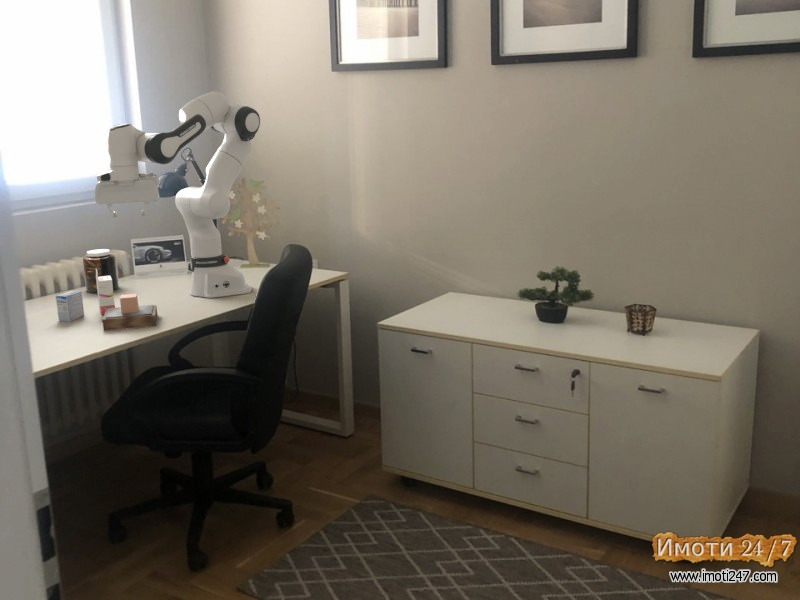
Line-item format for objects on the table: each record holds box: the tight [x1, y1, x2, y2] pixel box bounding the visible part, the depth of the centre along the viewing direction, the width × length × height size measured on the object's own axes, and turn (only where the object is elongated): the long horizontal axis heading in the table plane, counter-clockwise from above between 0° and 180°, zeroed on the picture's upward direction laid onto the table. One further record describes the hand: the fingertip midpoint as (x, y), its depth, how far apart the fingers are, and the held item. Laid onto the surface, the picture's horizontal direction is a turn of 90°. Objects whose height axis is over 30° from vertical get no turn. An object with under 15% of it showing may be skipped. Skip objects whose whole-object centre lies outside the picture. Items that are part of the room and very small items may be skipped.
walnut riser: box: [101, 304, 158, 332], centre depth 275 cm, size 16×14×4 cm
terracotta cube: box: [119, 293, 139, 313], centre depth 274 cm, size 5×5×5 cm
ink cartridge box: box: [96, 269, 116, 315], centre depth 290 cm, size 9×5×15 cm, turn 23°
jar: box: [82, 248, 120, 294], centre depth 324 cm, size 12×12×15 cm
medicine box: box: [55, 290, 85, 323], centre depth 283 cm, size 8×4×9 cm, turn 163°
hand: (129, 216), depth 280 cm, fingers open, 8 cm apart
